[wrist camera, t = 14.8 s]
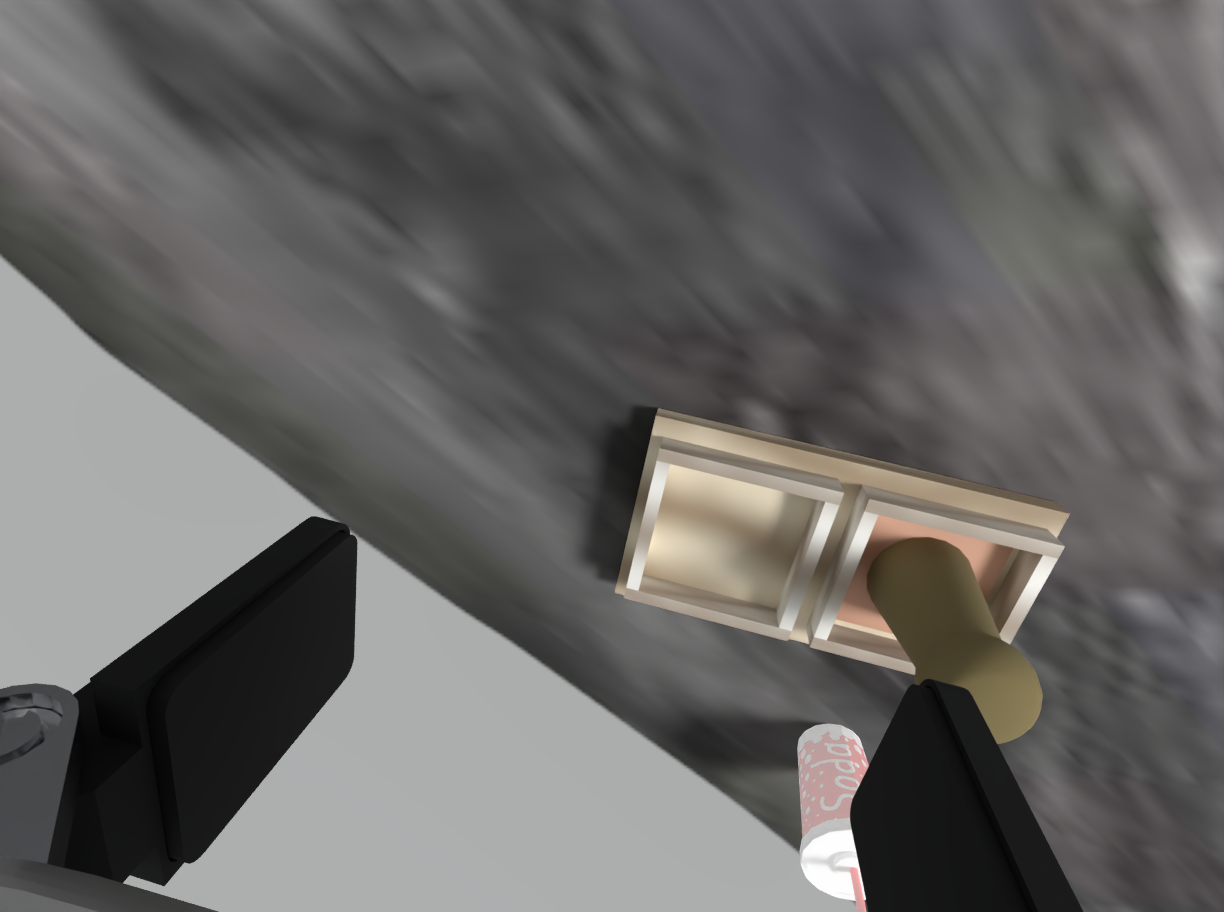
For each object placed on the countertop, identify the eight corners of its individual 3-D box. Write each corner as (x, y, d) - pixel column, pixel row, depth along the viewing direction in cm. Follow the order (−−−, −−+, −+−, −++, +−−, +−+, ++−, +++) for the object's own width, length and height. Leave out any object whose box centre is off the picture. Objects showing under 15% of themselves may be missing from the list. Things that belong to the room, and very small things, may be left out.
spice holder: (658, 408, 38) (652, 426, 35) (1056, 502, 36) (1089, 530, 33) (618, 580, 43) (609, 610, 40) (965, 671, 41) (985, 710, 38)
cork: (959, 627, 38) (1044, 776, 28) (858, 615, 39) (905, 755, 29) (984, 542, 36) (1086, 671, 26) (876, 531, 37) (933, 652, 27)
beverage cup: (886, 729, 44) (954, 943, 31) (855, 788, 46) (906, 1008, 33) (802, 705, 44) (834, 905, 32) (775, 764, 47) (795, 973, 34)
